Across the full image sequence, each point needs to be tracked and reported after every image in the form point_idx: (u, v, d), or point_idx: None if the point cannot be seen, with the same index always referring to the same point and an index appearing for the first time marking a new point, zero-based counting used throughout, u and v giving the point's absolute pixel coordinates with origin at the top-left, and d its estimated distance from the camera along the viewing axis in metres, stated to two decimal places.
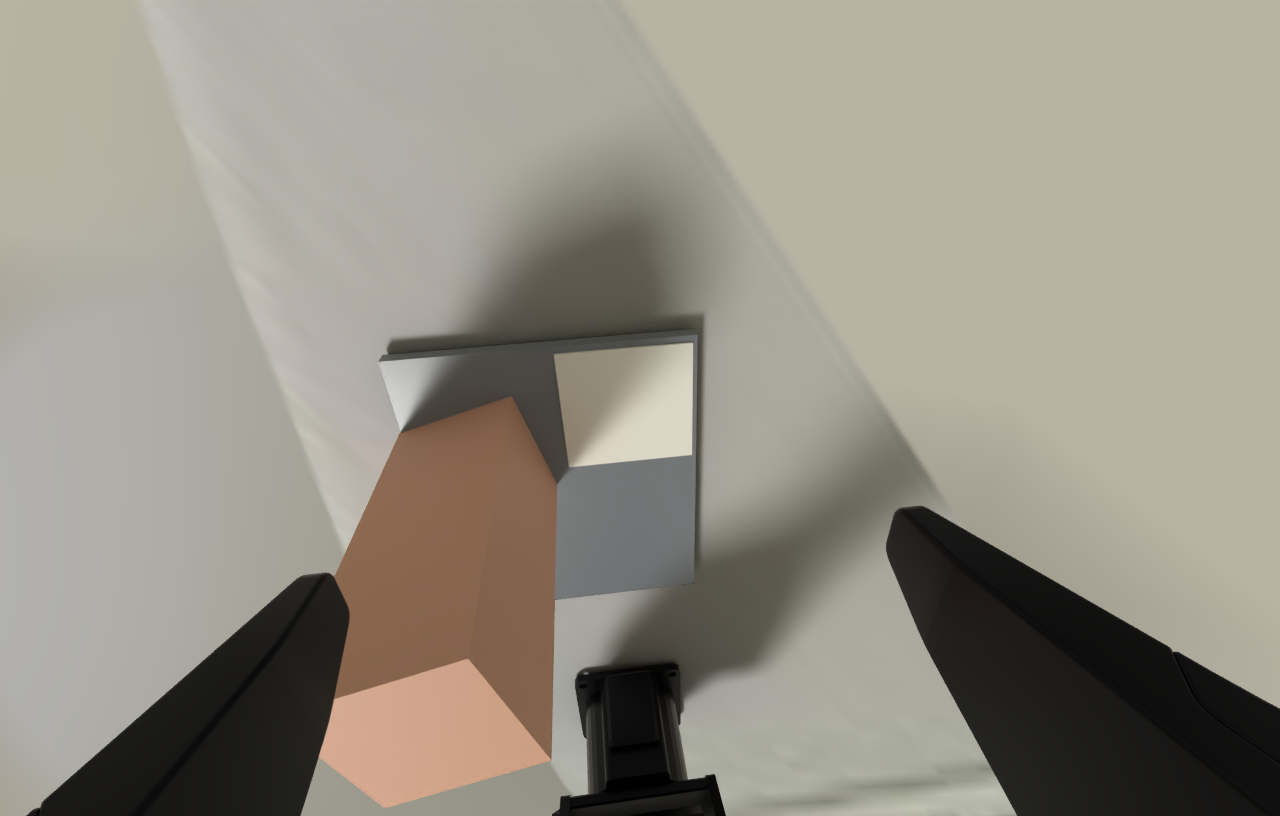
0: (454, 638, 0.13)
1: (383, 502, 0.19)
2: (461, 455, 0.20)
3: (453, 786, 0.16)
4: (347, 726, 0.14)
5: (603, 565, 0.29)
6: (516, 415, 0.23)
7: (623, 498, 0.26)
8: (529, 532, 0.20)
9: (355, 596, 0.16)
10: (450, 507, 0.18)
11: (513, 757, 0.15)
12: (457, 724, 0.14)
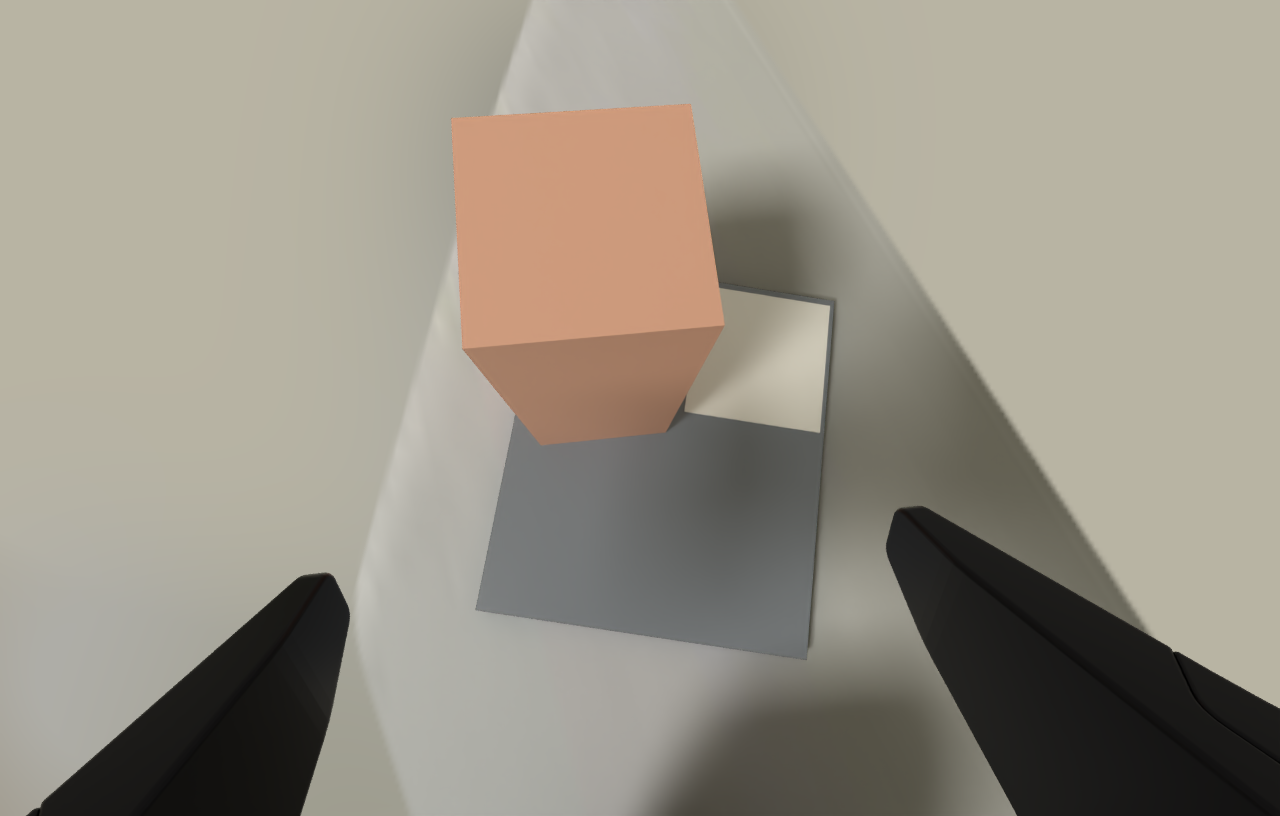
0: None
1: None
2: None
3: (575, 335, 0.11)
4: (517, 161, 0.11)
5: (689, 581, 0.21)
6: None
7: (735, 475, 0.22)
8: None
9: None
10: None
11: (678, 298, 0.11)
12: (636, 204, 0.11)
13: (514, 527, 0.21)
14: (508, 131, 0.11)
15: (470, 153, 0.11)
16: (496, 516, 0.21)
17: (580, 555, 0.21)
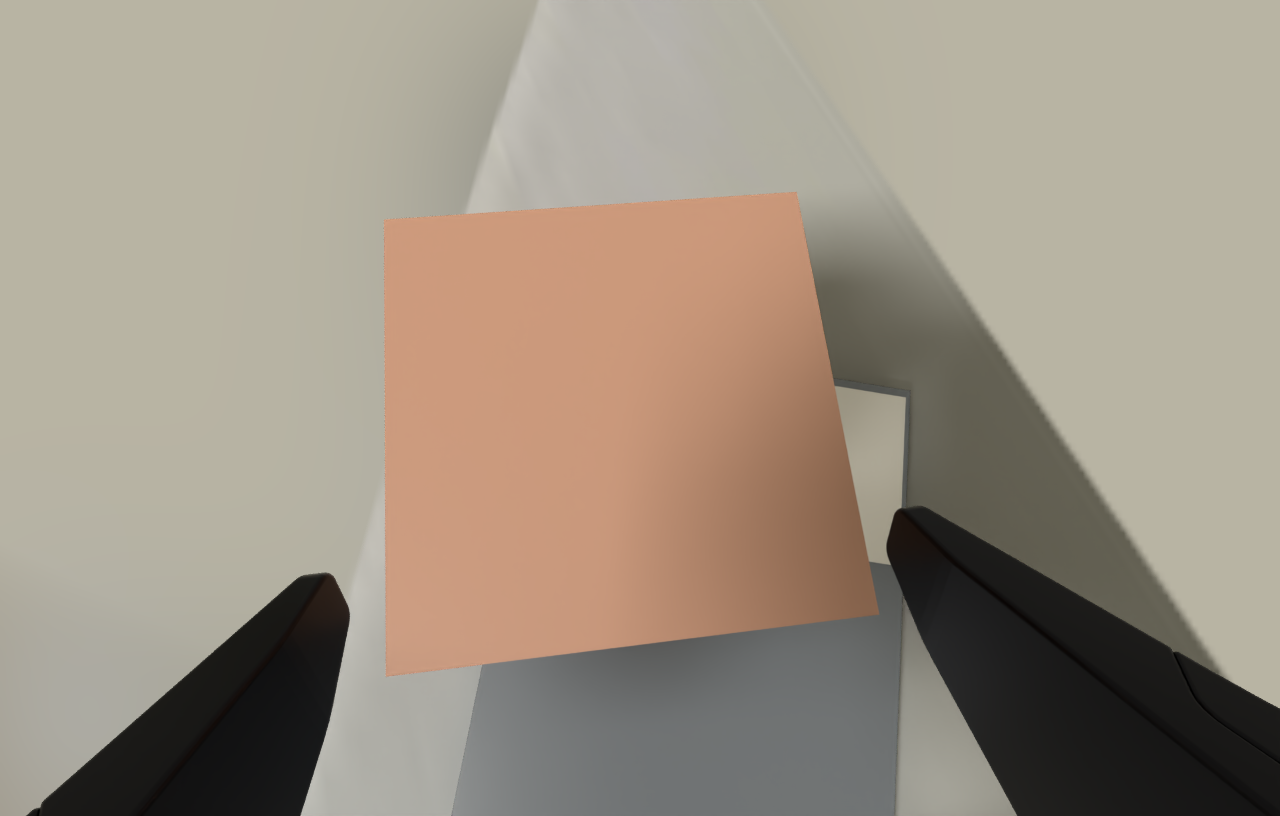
0: None
1: None
2: None
3: (602, 641, 0.06)
4: (499, 297, 0.06)
5: (734, 774, 0.16)
6: None
7: None
8: None
9: None
10: None
11: (791, 559, 0.06)
12: (708, 375, 0.06)
13: (504, 700, 0.16)
14: (483, 242, 0.07)
15: (415, 283, 0.06)
16: (480, 684, 0.16)
17: (590, 738, 0.16)
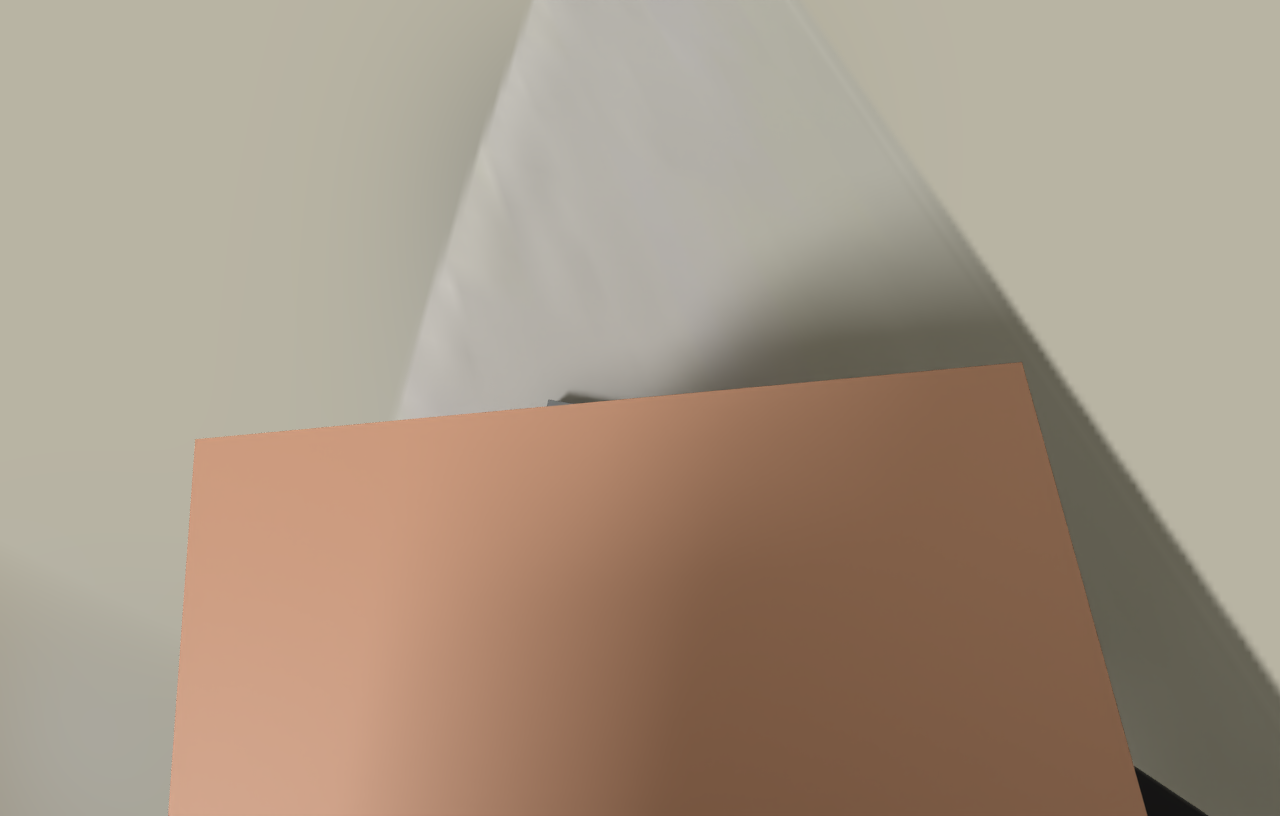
0: None
1: None
2: None
3: None
4: (430, 615, 0.03)
5: None
6: None
7: None
8: None
9: None
10: None
11: None
12: (881, 794, 0.03)
13: None
14: (401, 488, 0.03)
15: (252, 585, 0.03)
16: None
17: None
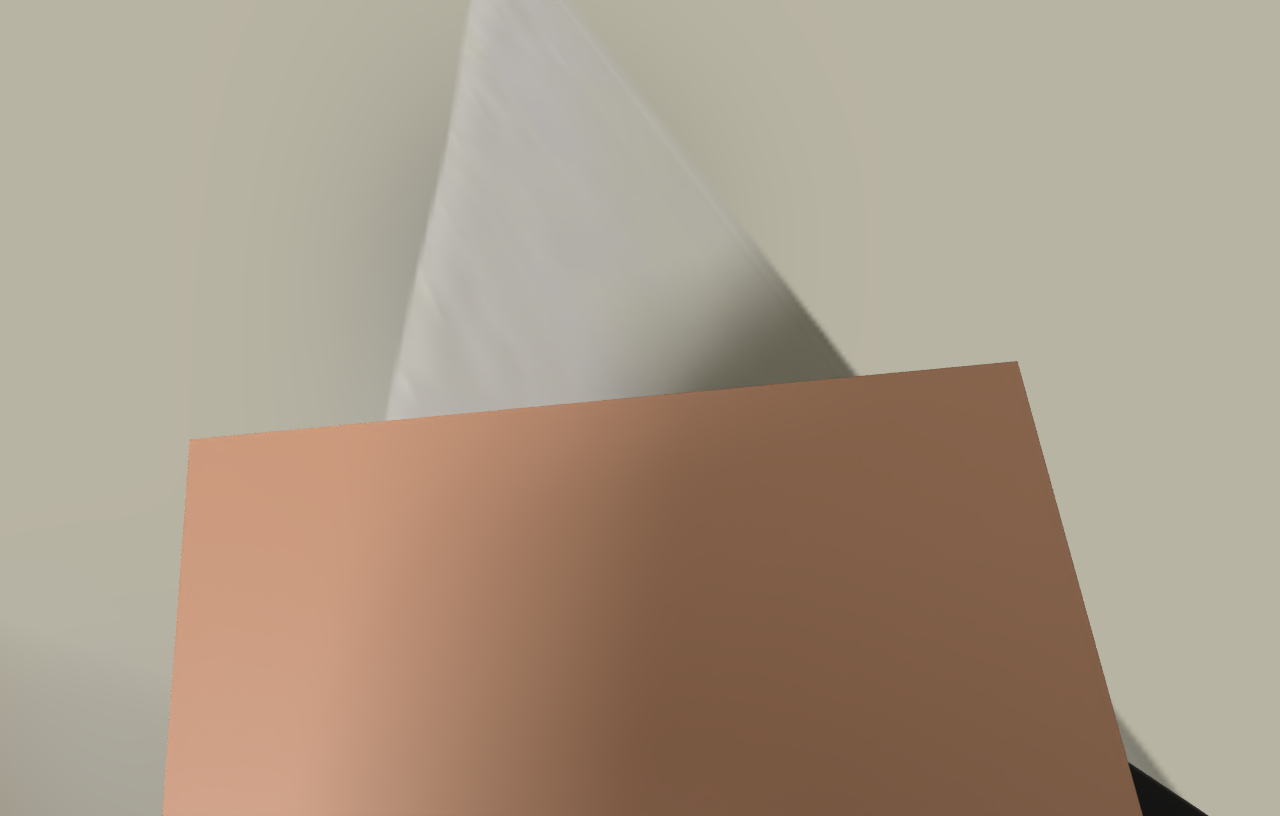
0: None
1: None
2: None
3: None
4: (425, 616, 0.03)
5: None
6: None
7: None
8: None
9: None
10: None
11: None
12: (873, 790, 0.03)
13: None
14: (395, 488, 0.03)
15: (247, 585, 0.03)
16: None
17: None
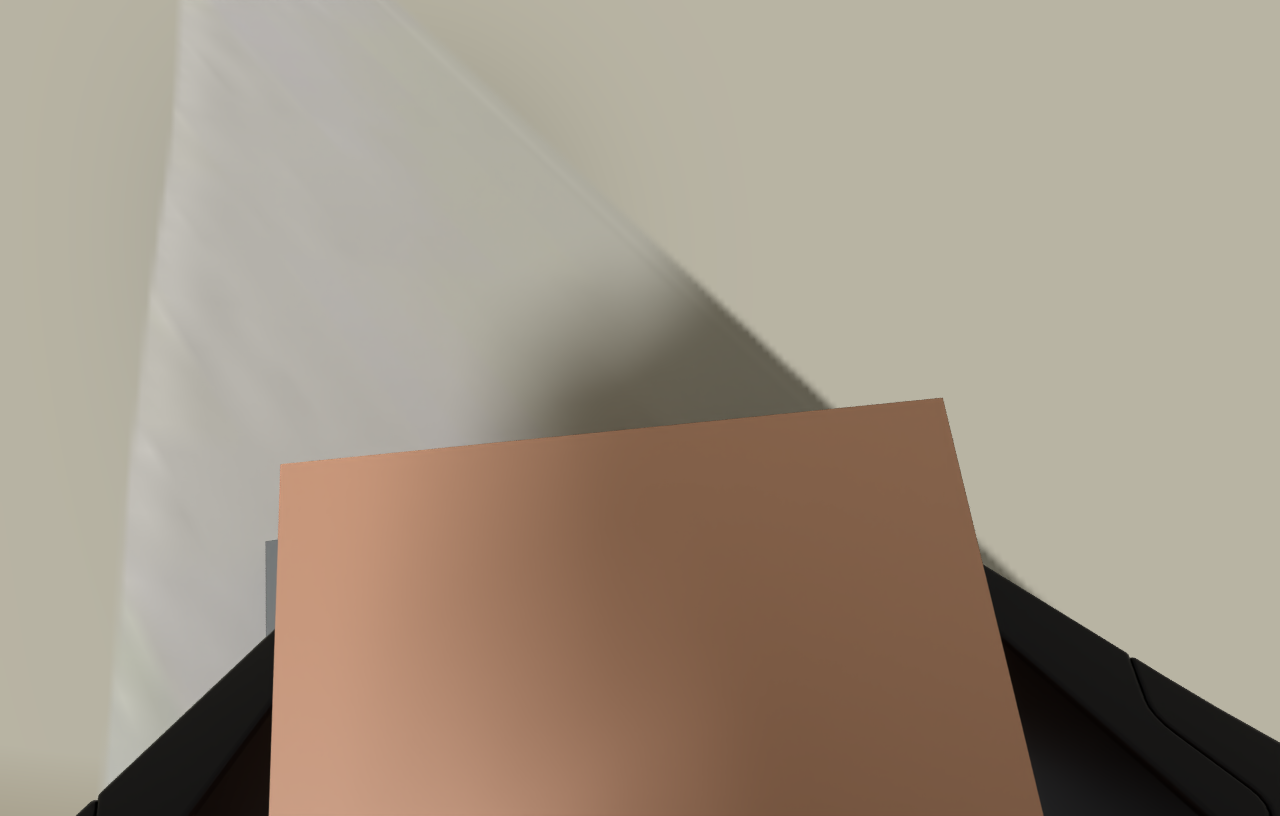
0: None
1: None
2: None
3: None
4: (469, 602, 0.04)
5: None
6: None
7: None
8: None
9: None
10: None
11: None
12: (820, 739, 0.04)
13: None
14: (443, 502, 0.04)
15: (328, 580, 0.04)
16: None
17: None
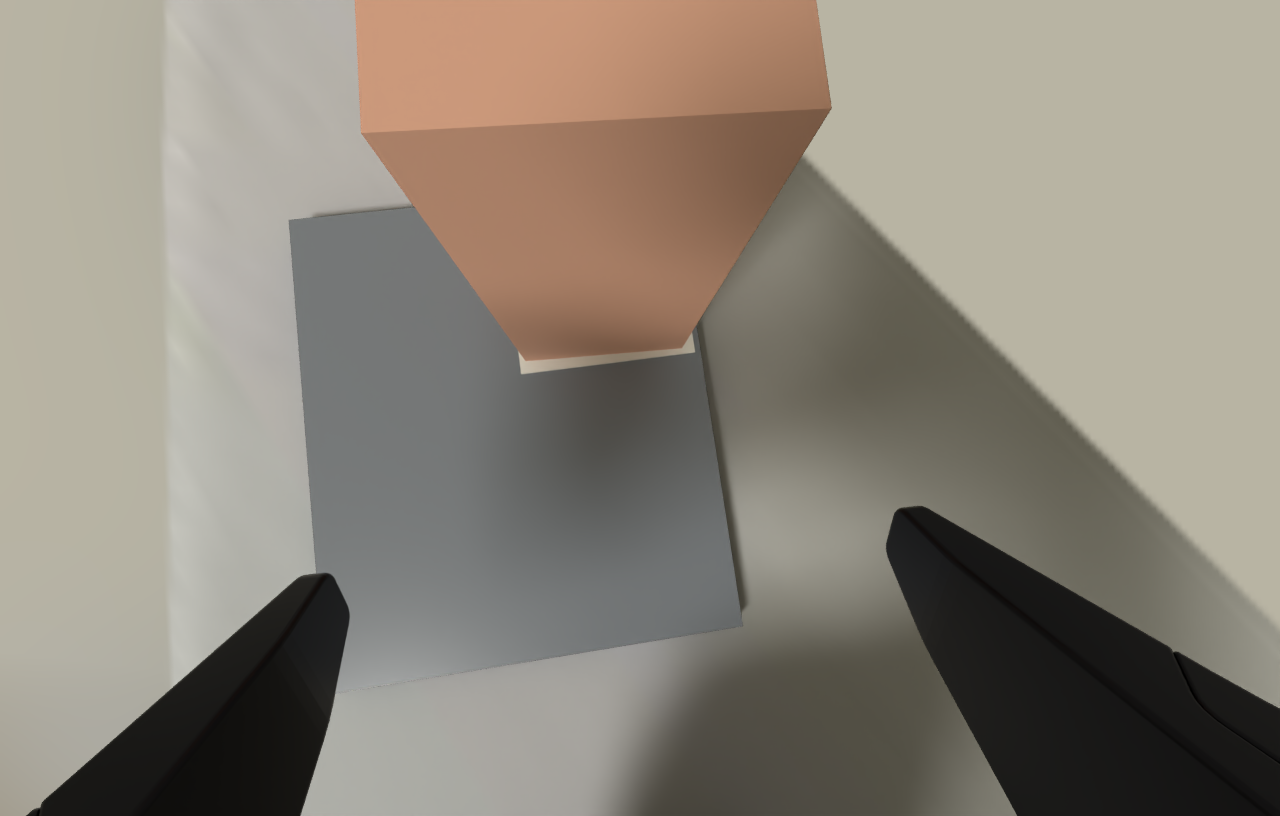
0: None
1: None
2: None
3: (567, 116, 0.06)
4: None
5: (581, 579, 0.17)
6: None
7: (604, 434, 0.18)
8: None
9: None
10: None
11: (750, 56, 0.06)
12: None
13: (345, 581, 0.17)
14: None
15: None
16: None
17: (438, 589, 0.17)
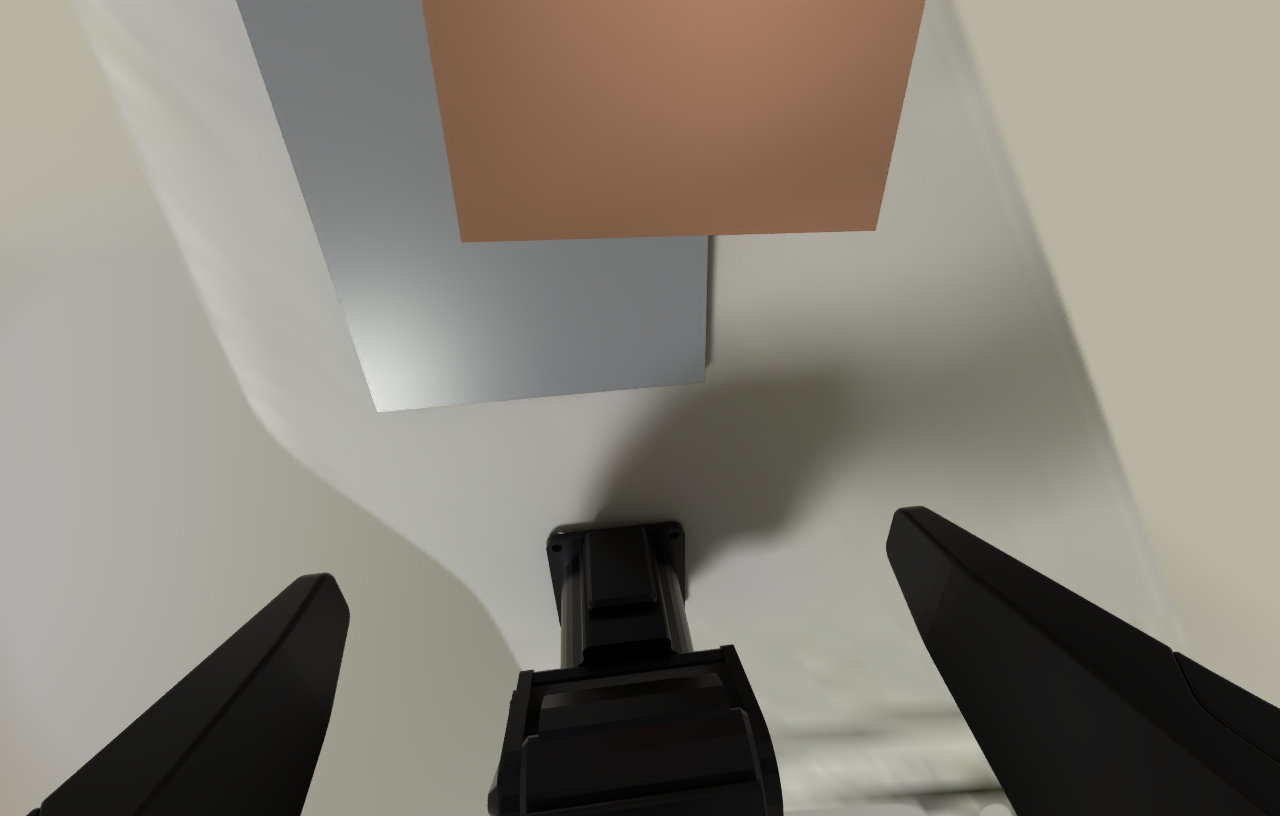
0: None
1: None
2: None
3: (644, 231, 0.07)
4: None
5: (578, 342, 0.20)
6: None
7: None
8: None
9: None
10: None
11: (819, 175, 0.06)
12: None
13: (375, 333, 0.19)
14: None
15: None
16: (350, 326, 0.19)
17: (457, 344, 0.20)
